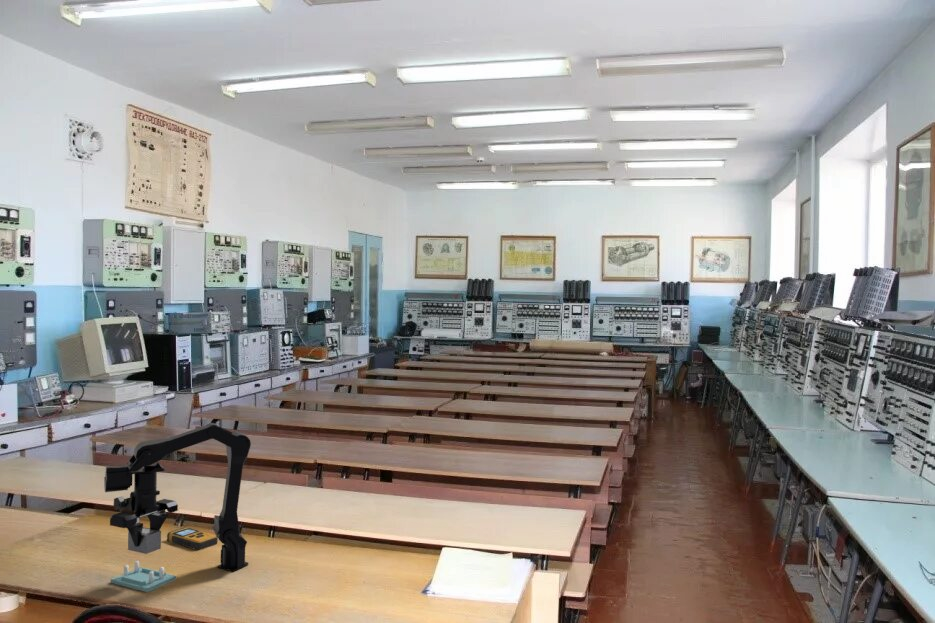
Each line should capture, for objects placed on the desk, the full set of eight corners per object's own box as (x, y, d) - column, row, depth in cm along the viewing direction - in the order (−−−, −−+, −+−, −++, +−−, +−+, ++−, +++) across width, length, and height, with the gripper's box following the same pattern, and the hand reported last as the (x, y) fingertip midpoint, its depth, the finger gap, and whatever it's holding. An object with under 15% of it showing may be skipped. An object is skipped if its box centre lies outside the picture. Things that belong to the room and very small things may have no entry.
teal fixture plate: (176, 579, 205) (176, 565, 205) (147, 592, 196) (147, 577, 196) (140, 570, 211) (140, 556, 211) (110, 582, 202) (110, 568, 202)
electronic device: (197, 552, 228) (197, 542, 228) (165, 542, 236) (166, 532, 236) (219, 545, 235) (219, 534, 235) (187, 535, 243) (187, 525, 243)
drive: (160, 548, 204) (161, 530, 204) (146, 554, 200) (146, 535, 199) (142, 544, 207) (142, 526, 207) (128, 549, 202) (128, 531, 202)
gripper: (151, 477, 215) (150, 529, 215) (95, 492, 198) (95, 549, 198) (179, 481, 210) (178, 535, 210) (125, 497, 193) (124, 555, 193)
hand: (144, 543), depth 203 cm, fingers closed on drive, 5 cm apart
